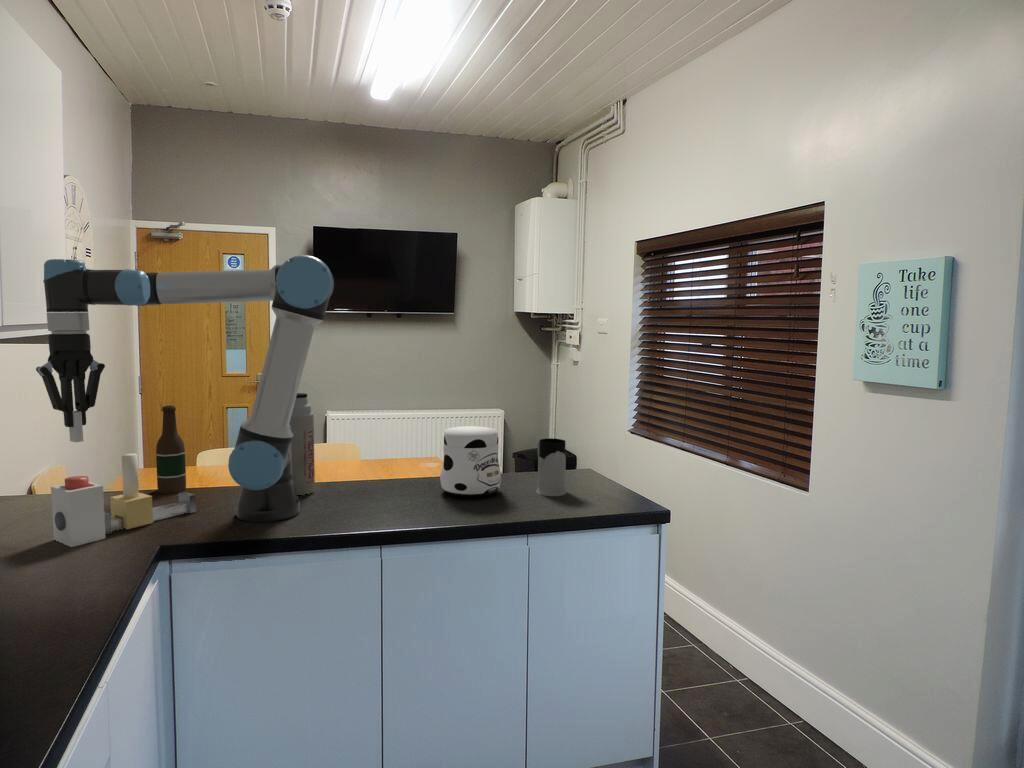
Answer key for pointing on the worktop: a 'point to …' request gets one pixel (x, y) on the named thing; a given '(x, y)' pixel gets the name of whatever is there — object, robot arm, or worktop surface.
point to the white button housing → (78, 514)
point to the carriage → (132, 497)
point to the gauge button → (76, 482)
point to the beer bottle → (170, 456)
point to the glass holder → (551, 467)
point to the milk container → (470, 461)
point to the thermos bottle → (302, 446)
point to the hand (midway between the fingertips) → (76, 441)
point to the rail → (157, 511)
